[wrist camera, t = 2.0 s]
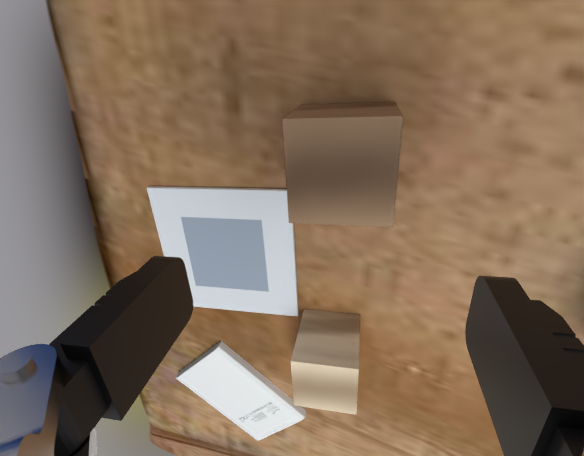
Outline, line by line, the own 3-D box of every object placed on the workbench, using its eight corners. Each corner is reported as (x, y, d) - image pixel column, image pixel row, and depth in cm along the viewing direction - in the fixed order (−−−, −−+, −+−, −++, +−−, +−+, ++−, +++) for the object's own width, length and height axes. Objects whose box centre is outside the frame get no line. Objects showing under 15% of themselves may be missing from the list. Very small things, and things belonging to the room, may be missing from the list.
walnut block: (302, 104, 23) (282, 118, 18) (394, 101, 22) (403, 116, 16) (305, 188, 25) (288, 223, 20) (387, 190, 24) (393, 227, 19)
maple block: (304, 308, 31) (290, 361, 25) (360, 313, 30) (358, 369, 24) (305, 349, 33) (293, 405, 28) (358, 355, 32) (356, 414, 27)
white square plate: (149, 186, 28) (146, 187, 28) (291, 189, 26) (290, 190, 25) (178, 302, 33) (176, 304, 33) (298, 313, 31) (297, 316, 31)
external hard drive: (223, 336, 35) (307, 406, 37) (181, 367, 39) (259, 429, 41) (217, 348, 34) (304, 420, 36) (174, 379, 37) (256, 443, 40)
